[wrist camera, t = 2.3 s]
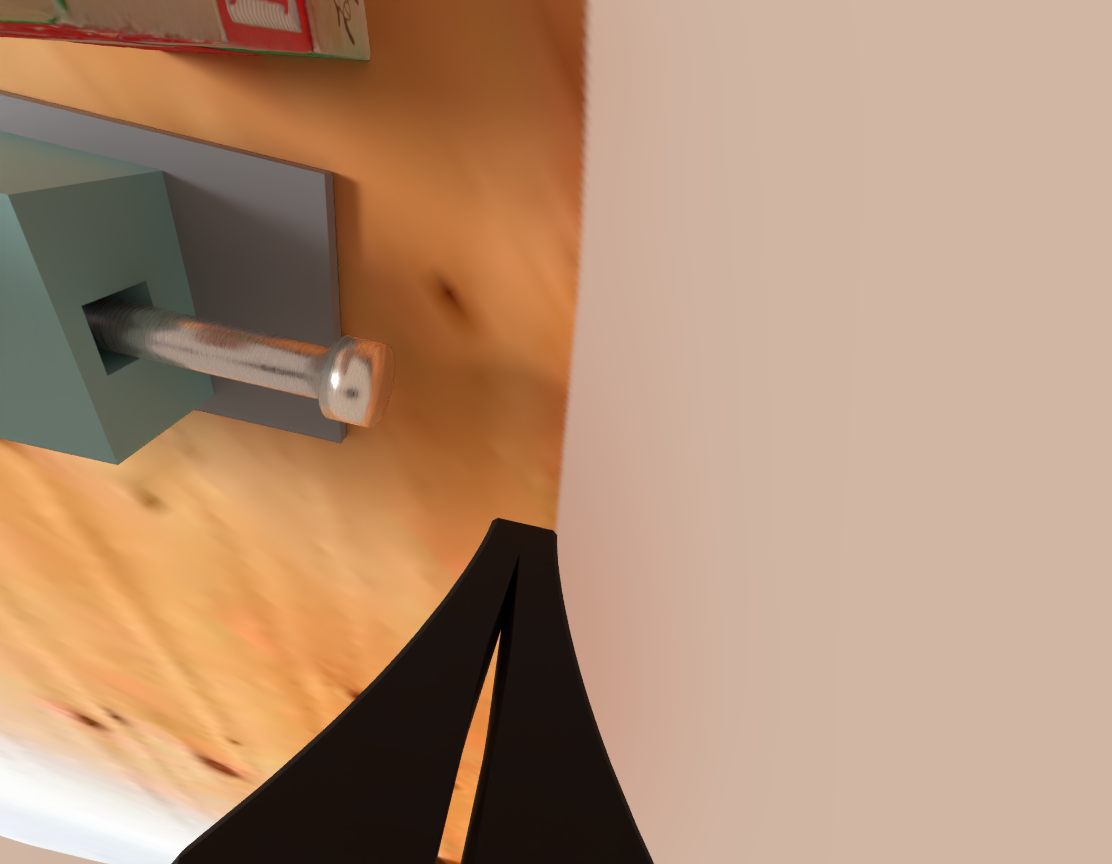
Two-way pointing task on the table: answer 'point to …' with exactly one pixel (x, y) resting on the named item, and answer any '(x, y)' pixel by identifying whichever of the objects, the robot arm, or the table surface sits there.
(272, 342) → the shaft
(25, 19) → the stack of blocks
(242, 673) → the table surface
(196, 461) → the table surface
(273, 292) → the bearing block
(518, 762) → the robot arm
